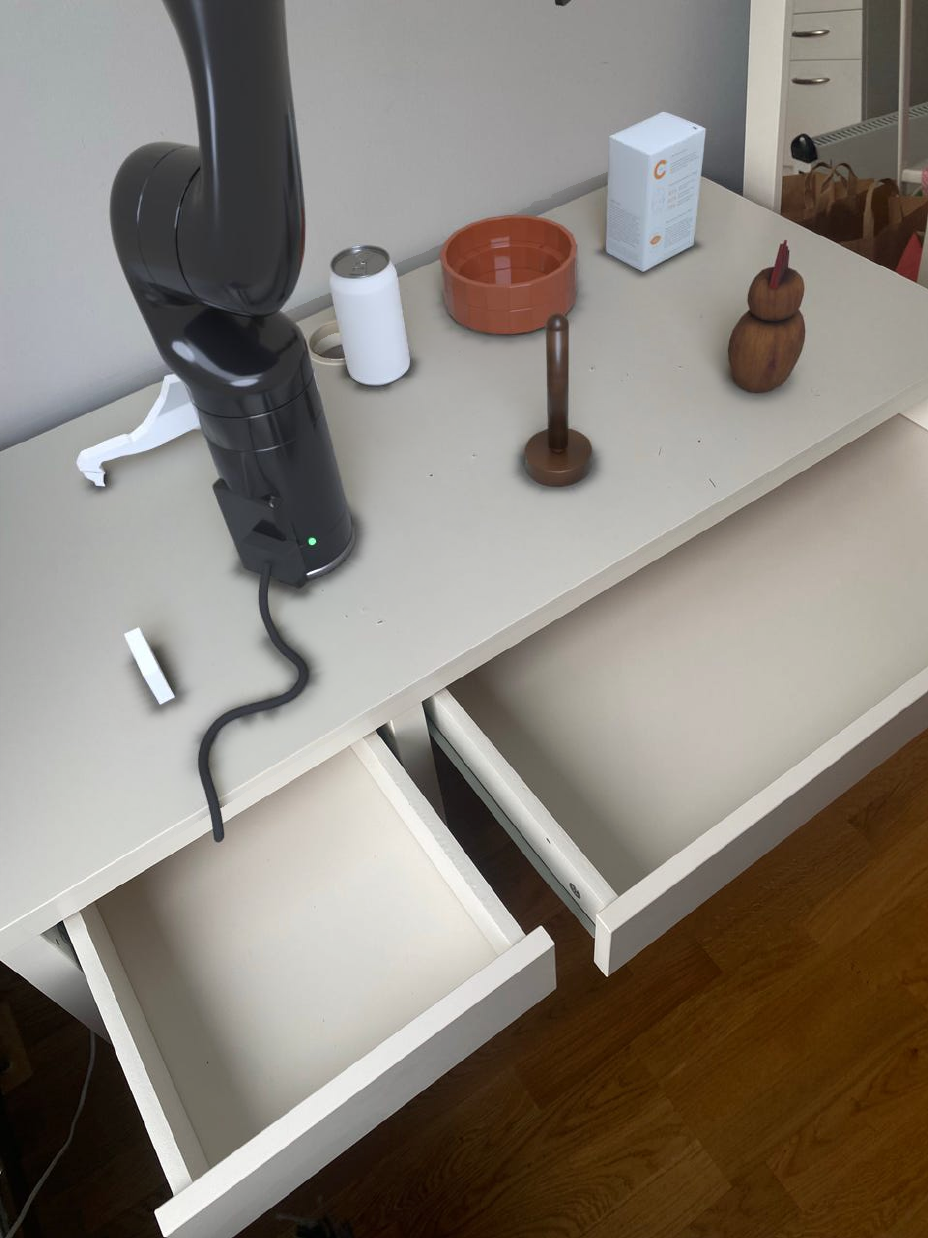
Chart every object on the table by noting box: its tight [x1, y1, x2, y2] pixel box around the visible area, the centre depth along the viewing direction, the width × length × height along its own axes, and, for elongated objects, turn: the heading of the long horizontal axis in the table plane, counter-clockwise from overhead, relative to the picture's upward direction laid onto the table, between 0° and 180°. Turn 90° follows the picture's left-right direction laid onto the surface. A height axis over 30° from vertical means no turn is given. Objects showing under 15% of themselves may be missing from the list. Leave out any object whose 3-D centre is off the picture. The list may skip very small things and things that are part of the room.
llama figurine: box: [75, 373, 201, 487], centre depth 89 cm, size 2×11×18 cm
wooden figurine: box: [727, 239, 807, 394], centre depth 85 cm, size 7×6×15 cm
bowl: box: [439, 214, 579, 335], centre depth 100 cm, size 14×14×6 cm
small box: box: [605, 111, 707, 273], centre depth 102 cm, size 8×6×13 cm
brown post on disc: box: [524, 313, 593, 488], centre depth 79 cm, size 6×6×15 cm
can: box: [328, 244, 411, 387], centre depth 92 cm, size 6×6×12 cm
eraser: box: [123, 627, 176, 705], centre depth 72 cm, size 1×5×4 cm, turn 31°
